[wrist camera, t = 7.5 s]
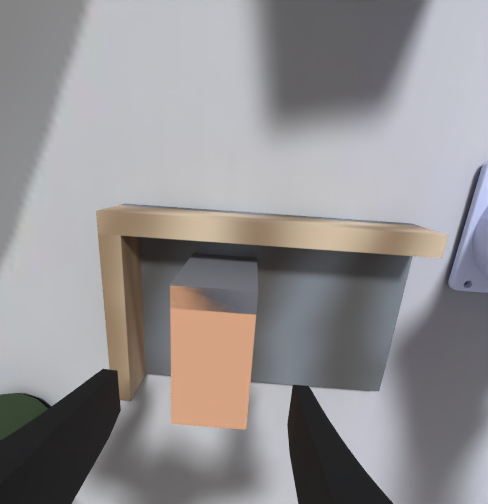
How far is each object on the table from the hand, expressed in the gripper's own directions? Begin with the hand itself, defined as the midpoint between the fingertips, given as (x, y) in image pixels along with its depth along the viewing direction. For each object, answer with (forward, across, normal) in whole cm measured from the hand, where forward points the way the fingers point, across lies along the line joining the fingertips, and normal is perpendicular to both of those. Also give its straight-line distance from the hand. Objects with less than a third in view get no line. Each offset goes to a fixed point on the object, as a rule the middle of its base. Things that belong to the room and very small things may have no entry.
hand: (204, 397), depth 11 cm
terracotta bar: (+7, 0, 0) cm, 7 cm away
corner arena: (+8, -2, 0) cm, 9 cm away
